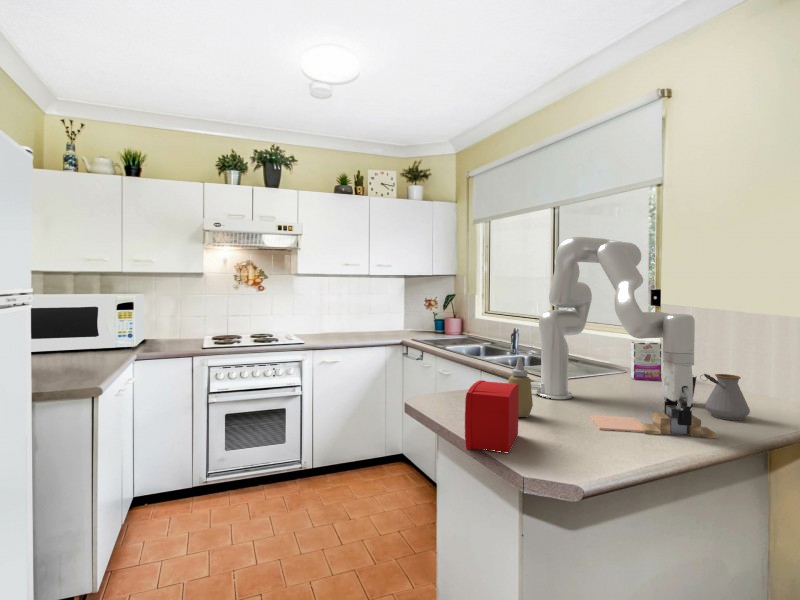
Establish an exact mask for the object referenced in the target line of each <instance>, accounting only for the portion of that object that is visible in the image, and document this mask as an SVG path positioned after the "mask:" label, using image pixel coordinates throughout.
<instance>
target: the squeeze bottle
mask: <svg viewBox="0 0 800 600" xmlns="http://www.w3.org/2000/svg"><path fill="white" fill-rule="evenodd" d="M507 383H511V384H519V414H518V417H526V418H528V417H527V416H529V417H530V414H531V412H532V409H533V406H534V403H533V393H532V389H531V384H532V381H531V378H530V377H529V376H528V370H527V369H525V368H524V362H523V358H522V357H518V358H517V361H516V365H515V368H513V369H511V376H509V377H508V382H507Z"/></svg>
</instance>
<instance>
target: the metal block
mask: <svg viewBox="0 0 800 600" xmlns="http://www.w3.org/2000/svg"><path fill="white" fill-rule="evenodd" d="M678 410H679V406H678V405H677V406H672V405H666V415H667V416H668V417H669V418H670V419H671V424H670V433H674V434H673V435H677V434H686V435H685V436H687V435H688V434H687V426H686V425H678Z"/></svg>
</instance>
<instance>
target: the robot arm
mask: <svg viewBox="0 0 800 600" xmlns="http://www.w3.org/2000/svg"><path fill="white" fill-rule="evenodd" d="M641 260H642V251H641V249H640V248H639V247H638V246H637V245H636V244H635V243H633V242H627V241H626V242H625V241H621V240H620V241H619V240H614V239H607V238H601V237H600V238H599V237H598V238H597V237H588V236H573V237H569V238H567V239H564V240H563V241H562V242H561V243H560V244H559V246H558V248H557V249H556V254H555V265H554V266H555V267H554V272H553V276H552V278H551V279H552V280H551V284H550V288H549V289H550V290H549V295H548V300H549V303H550V305H552V307H556V308H561V309H552V310H547V311H545V312H543V313H542V314H541V315H540V317H539V319H538V327H539V332H540V340H541V341H540V342H541V345H540V347H541V348H540V349H541V350H540V353H541V355H540V356H541V357H540V358H541V360H540V361H541V362H540V369H541V370H540V380H539V382H536V383H531V391H532V390H535V391H536V393H537V394H538V395H540V396H542V397H541V398H543V397H546V398H545V399H549V398H551V399H550V400H569V399H571V398H573V393H572V392H571V391H569V355H570V354H569V344H568V342H567V340H566V338H565V337H566V336H575V335H579V334H580V333H582V332H583V331H584V329H585V327H586V324H587V319H588V318H589V317H588V316H589V312H590V309H591V308H590V307H591V304H592V301H593V300H592V299H593V294H592V291H591V288H590V286H589V285H588V284H587V283H585V282H582V281H579V278H580V266H579V264H578V263H594V264H599V265H601V267H602V270H603V272H604V273H605V275H606V276H607V278H608V281H610V284H611V286H612V288H613V289H614V292H615V294H614V300H613V301H614V310H615V313H616V316H617V317H618V318H617V319H618V320H619V322H620V323H621V325H622V326H623V328H624V330H625V331H626V332H627V334H628V335H630V336H631V337H633V338H635V339H642V340H643V339H658V338H662V364H663V366H662V372H661V389H660V391H661V394H662V396H664V398H663V399H664V410H663V411H664V412H663V413H664V414H665V415H666V405H672V406H679V410H678V425H686V426H691V425H692V415H693V413H692V412H693V401H694V396H693V377H692V374H693V366H695V337H696V336H695V335H696V334H695V331H696V330H695V329H696V326H695V325H696V324H695V323H696V322H695V321H696V320H695V317H694V316H693V315H691V314H686V313H667V312H662V311H658V312H657V311H647V312H646V311H644V312H643V310H642V309H641V308H640V306H639V304H638V301H636V297H635V291H636V290H638V288H640V287H641V286H642V284H643V283H644V277H643V275H642V274H641V272H640V271H639V269H638V268H637V266H638V265H639V264H640V263H641ZM565 308H566V309H565ZM537 394H536V395H537ZM538 395H537V396H538ZM540 396H539V397H540ZM676 400H677V402H678V405H677V402H674V401H676ZM682 403H683V405H682Z"/></svg>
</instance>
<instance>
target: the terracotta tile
mask: <svg viewBox="0 0 800 600" xmlns="http://www.w3.org/2000/svg"><path fill="white" fill-rule="evenodd" d="M589 416H590V419H591V420H592V421H594V422H593V423H594V424H595V426H596V425H597V426H596V427H597V429H598V430H599V431H609V430H615V431H614V432H625V431H631V432H630V433H641V432H644V430H643V429H642V428H641V427H640V426H639V425H638V424H637V423H642V422H641V421H640V420H639V419H637V417H631V416H630V417H627V416H615V415H614V416H611V415H610V416H609V415H594V414H593V415H591V414H590V415H589Z"/></svg>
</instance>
